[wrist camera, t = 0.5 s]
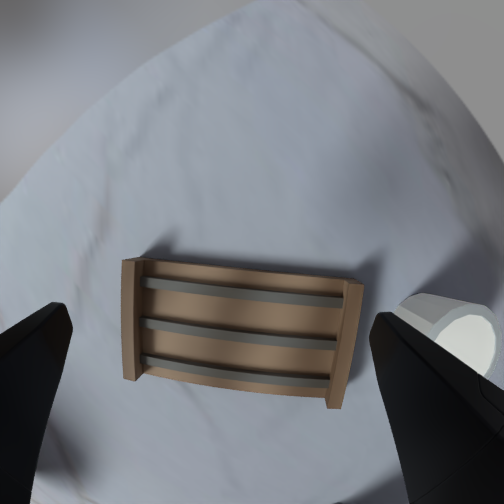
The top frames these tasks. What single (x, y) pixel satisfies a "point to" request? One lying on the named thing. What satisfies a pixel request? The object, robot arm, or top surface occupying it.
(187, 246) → the top surface
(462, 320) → the white tapered cylinder
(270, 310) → the rack
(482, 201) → the top surface
